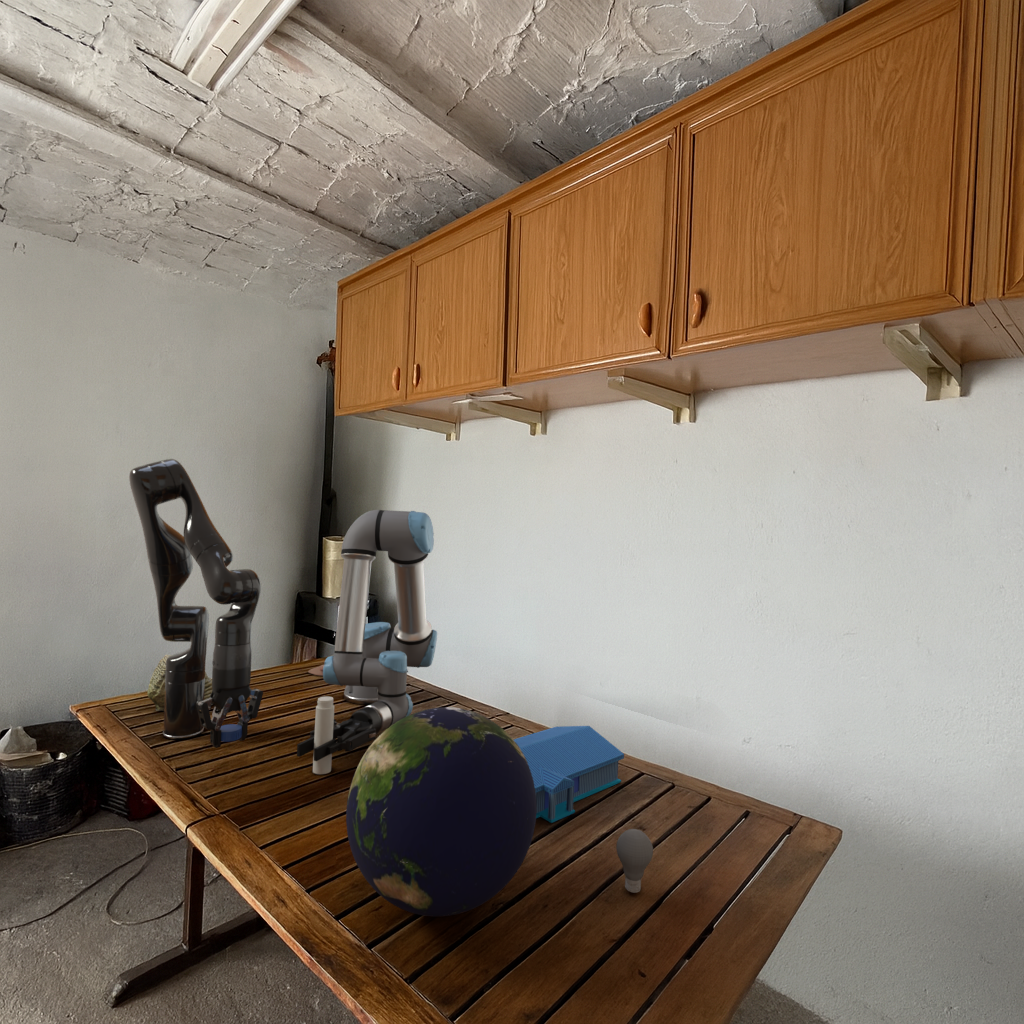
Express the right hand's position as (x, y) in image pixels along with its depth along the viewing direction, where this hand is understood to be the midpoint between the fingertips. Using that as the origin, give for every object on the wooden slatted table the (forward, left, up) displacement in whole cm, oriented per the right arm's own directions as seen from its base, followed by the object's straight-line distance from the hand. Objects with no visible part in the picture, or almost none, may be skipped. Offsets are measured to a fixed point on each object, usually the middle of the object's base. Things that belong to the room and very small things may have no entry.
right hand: (307, 752), depth 141 cm
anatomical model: (-86, -17, -6) cm, 88 cm away
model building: (+2, +51, -6) cm, 51 cm away
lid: (+6, -15, +7) cm, 17 cm away
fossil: (-45, -49, -6) cm, 67 cm away
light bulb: (+38, +65, -6) cm, 76 cm away
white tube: (-5, +2, -6) cm, 8 cm away
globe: (+41, +33, -6) cm, 53 cm away
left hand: (+6, -15, +4) cm, 17 cm away
